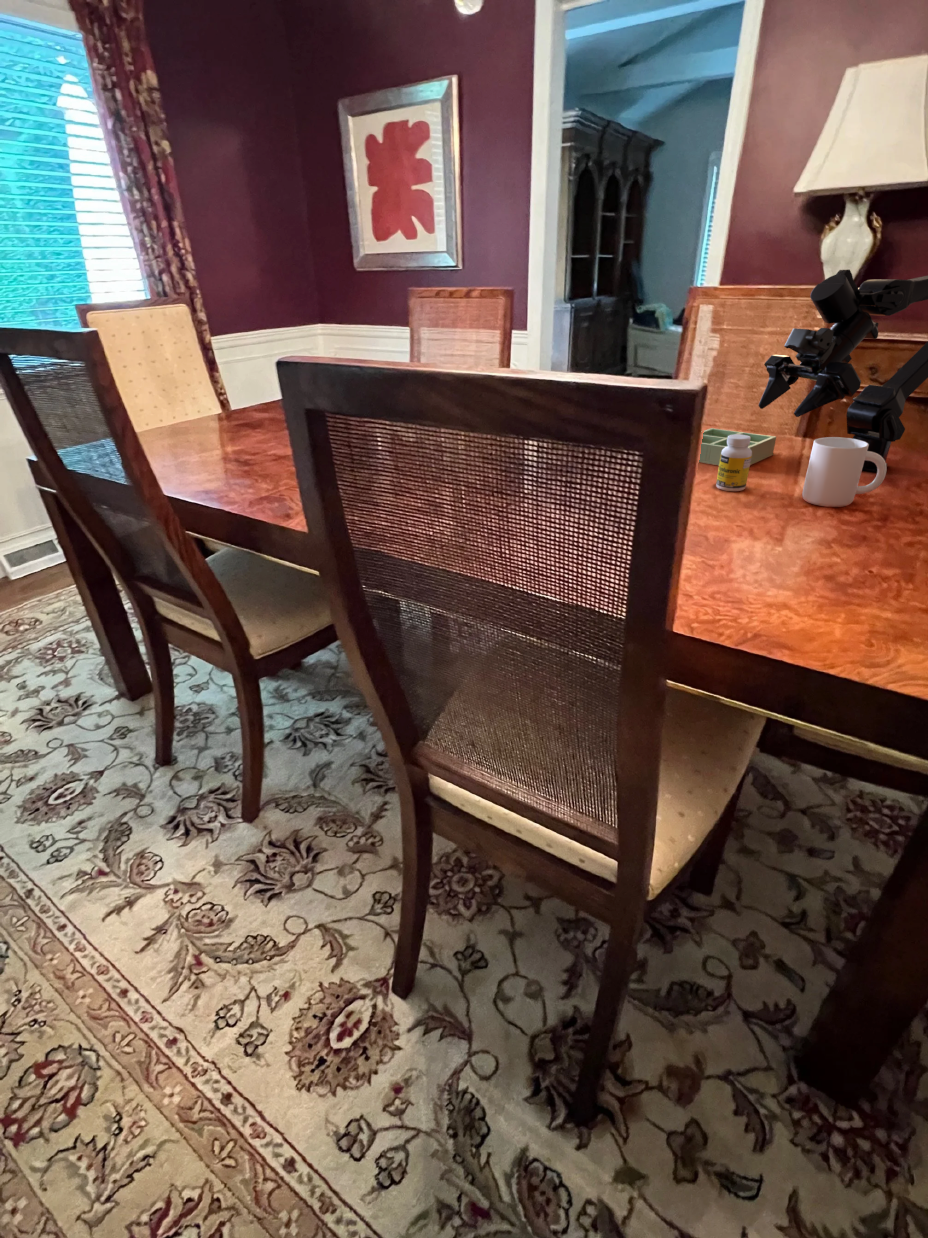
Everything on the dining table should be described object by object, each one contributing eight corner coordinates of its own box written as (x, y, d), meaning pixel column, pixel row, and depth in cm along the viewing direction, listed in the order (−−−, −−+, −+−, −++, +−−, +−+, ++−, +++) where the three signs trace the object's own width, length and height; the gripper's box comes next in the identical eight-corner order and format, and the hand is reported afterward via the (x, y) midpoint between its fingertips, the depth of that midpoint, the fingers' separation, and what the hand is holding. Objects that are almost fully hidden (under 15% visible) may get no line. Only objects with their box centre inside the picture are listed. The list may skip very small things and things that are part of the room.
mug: (874, 497, 111) (890, 439, 106) (880, 511, 105) (898, 450, 100) (799, 491, 116) (812, 435, 111) (801, 505, 109) (815, 446, 104)
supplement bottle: (710, 488, 120) (718, 436, 115) (724, 482, 123) (733, 431, 118) (736, 493, 116) (745, 441, 112) (751, 487, 119) (760, 435, 115)
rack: (772, 454, 139) (776, 436, 137) (741, 469, 130) (744, 449, 128) (708, 445, 149) (711, 427, 147) (675, 458, 140) (677, 439, 139)
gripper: (782, 308, 117) (723, 375, 120) (864, 310, 101) (795, 388, 104) (807, 349, 122) (750, 413, 125) (889, 358, 107) (822, 431, 109)
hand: (777, 411), depth 116 cm, fingers open, 9 cm apart
